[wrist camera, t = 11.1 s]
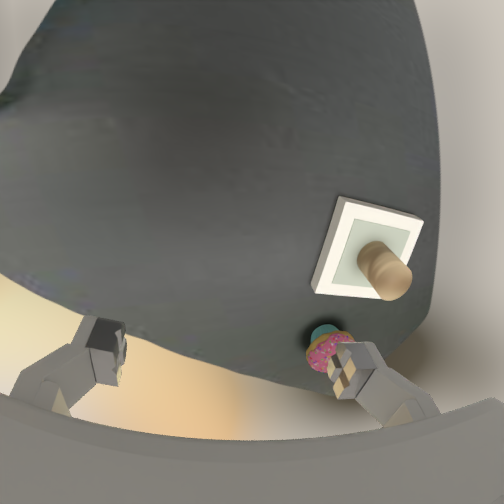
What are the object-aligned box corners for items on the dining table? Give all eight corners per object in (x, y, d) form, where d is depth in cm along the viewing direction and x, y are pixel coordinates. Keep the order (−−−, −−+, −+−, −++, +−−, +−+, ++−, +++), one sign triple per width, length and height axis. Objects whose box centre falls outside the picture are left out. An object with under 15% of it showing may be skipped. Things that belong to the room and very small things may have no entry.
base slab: (338, 195, 40) (346, 201, 37) (415, 215, 42) (424, 221, 40) (310, 283, 45) (315, 293, 43) (384, 291, 48) (391, 300, 46)
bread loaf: (364, 238, 40) (387, 262, 34) (393, 244, 41) (418, 268, 35) (351, 270, 42) (371, 298, 36) (380, 275, 43) (401, 302, 37)
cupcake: (315, 311, 48) (338, 364, 38) (355, 320, 50) (383, 369, 40) (292, 348, 51) (308, 401, 41) (331, 354, 54) (352, 403, 43)
